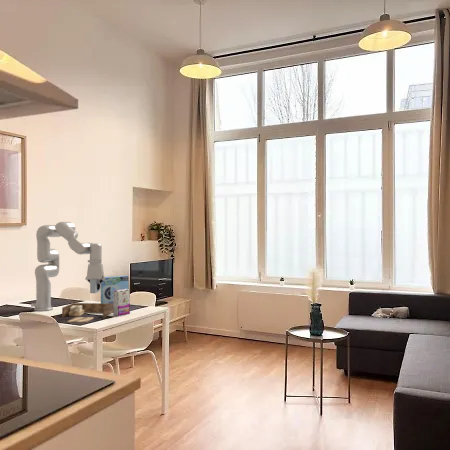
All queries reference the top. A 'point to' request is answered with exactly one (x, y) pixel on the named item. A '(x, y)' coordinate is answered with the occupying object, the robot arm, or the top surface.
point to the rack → (90, 308)
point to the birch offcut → (76, 308)
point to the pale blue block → (94, 286)
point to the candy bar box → (121, 302)
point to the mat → (81, 319)
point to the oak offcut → (76, 313)
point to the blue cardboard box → (112, 287)
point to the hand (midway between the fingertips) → (95, 289)
